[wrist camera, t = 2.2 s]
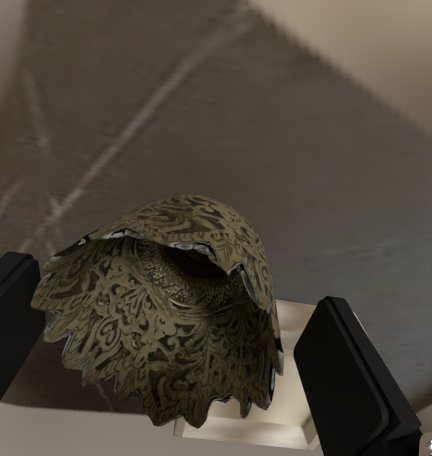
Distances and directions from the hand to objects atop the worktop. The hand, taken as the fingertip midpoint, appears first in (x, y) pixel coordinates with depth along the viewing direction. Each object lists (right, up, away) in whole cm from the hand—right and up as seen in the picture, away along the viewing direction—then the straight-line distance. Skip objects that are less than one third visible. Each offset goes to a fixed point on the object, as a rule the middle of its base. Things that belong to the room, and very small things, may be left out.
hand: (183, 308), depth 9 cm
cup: (+1, +3, +6) cm, 6 cm away
